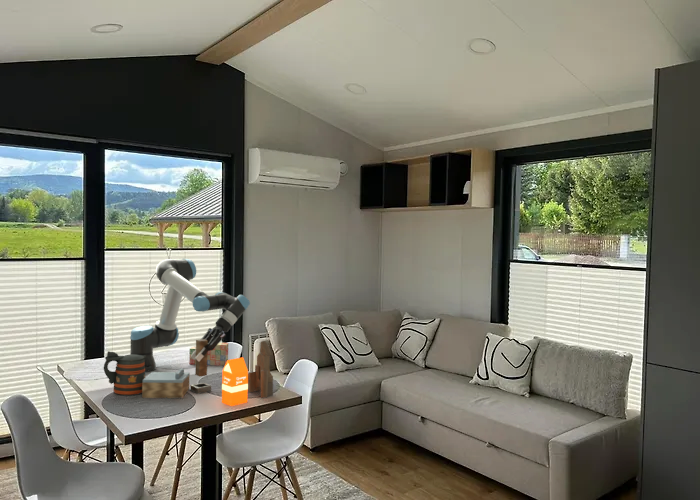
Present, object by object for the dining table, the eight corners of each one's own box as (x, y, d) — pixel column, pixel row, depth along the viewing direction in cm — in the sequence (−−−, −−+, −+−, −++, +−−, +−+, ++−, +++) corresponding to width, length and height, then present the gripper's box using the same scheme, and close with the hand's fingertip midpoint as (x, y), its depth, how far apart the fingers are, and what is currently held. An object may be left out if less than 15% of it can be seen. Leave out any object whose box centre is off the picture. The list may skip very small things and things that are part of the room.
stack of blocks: (189, 364, 311) (189, 343, 311) (192, 362, 317) (192, 341, 317) (225, 365, 310) (225, 344, 310) (228, 363, 317) (228, 342, 316)
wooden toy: (245, 390, 261) (246, 340, 261) (257, 388, 266) (258, 338, 265) (262, 398, 250) (264, 345, 249) (274, 395, 254) (276, 343, 254)
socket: (197, 393, 255) (197, 388, 255) (190, 390, 260) (190, 385, 260) (211, 390, 260) (211, 385, 260) (203, 387, 265) (203, 382, 265)
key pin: (199, 376, 257) (200, 341, 256) (195, 374, 260) (196, 340, 259) (206, 375, 259) (207, 340, 259) (202, 373, 262) (203, 339, 262)
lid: (142, 382, 246) (142, 374, 246) (151, 374, 260) (152, 367, 260) (182, 382, 248) (182, 374, 248) (189, 374, 262) (189, 367, 261)
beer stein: (106, 398, 244) (106, 355, 243) (101, 390, 256) (102, 349, 256) (149, 393, 254) (150, 351, 254) (143, 385, 267) (143, 345, 266)
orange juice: (247, 402, 244) (248, 358, 243) (231, 406, 237) (232, 361, 237) (237, 398, 249) (238, 355, 249) (221, 402, 243) (222, 358, 242)
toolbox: (142, 397, 247) (142, 382, 246) (151, 389, 261) (151, 374, 260) (182, 397, 248) (182, 382, 248) (189, 389, 262) (189, 375, 262)
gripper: (239, 329, 263) (208, 367, 253) (221, 323, 276) (191, 360, 265) (230, 319, 260) (198, 357, 249) (212, 314, 272) (181, 350, 261)
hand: (194, 358), depth 257 cm, fingers closed on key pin, 4 cm apart
